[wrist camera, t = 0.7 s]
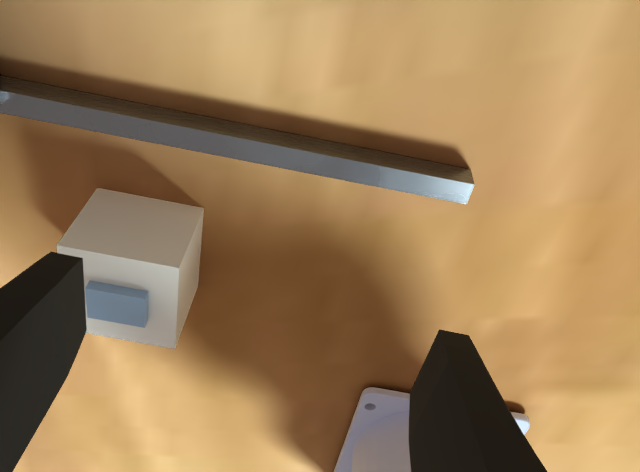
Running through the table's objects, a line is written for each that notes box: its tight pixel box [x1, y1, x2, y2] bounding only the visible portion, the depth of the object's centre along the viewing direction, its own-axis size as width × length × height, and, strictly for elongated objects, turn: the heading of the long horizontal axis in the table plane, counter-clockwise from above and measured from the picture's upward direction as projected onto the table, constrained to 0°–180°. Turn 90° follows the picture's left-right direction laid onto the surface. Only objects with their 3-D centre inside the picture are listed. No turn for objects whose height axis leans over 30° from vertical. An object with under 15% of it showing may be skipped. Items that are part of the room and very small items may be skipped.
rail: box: [0, 75, 474, 204], centre depth 17 cm, size 8×17×3 cm, turn 80°
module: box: [57, 188, 204, 349], centre depth 22 cm, size 4×4×4 cm
